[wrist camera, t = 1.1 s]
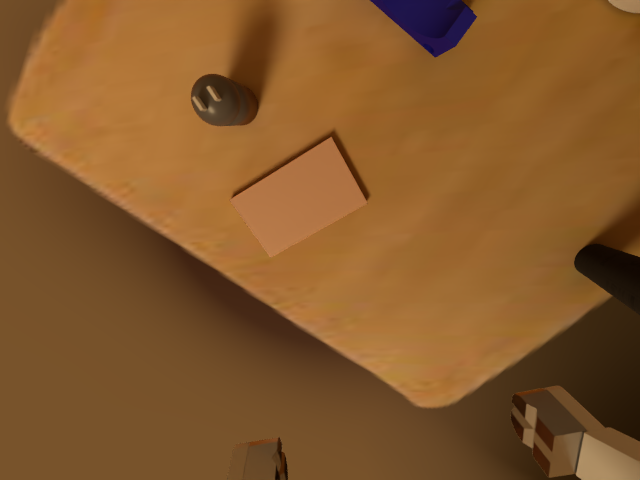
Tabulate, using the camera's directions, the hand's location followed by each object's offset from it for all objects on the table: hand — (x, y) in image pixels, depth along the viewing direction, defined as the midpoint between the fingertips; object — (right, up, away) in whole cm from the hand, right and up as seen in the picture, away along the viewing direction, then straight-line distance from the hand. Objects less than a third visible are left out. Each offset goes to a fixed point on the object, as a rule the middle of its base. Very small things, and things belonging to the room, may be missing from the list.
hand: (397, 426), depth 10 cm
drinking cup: (+38, +4, +35) cm, 52 cm away
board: (-6, +12, +32) cm, 34 cm away
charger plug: (-13, +23, +27) cm, 38 cm away
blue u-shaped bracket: (+7, +33, +24) cm, 42 cm away
